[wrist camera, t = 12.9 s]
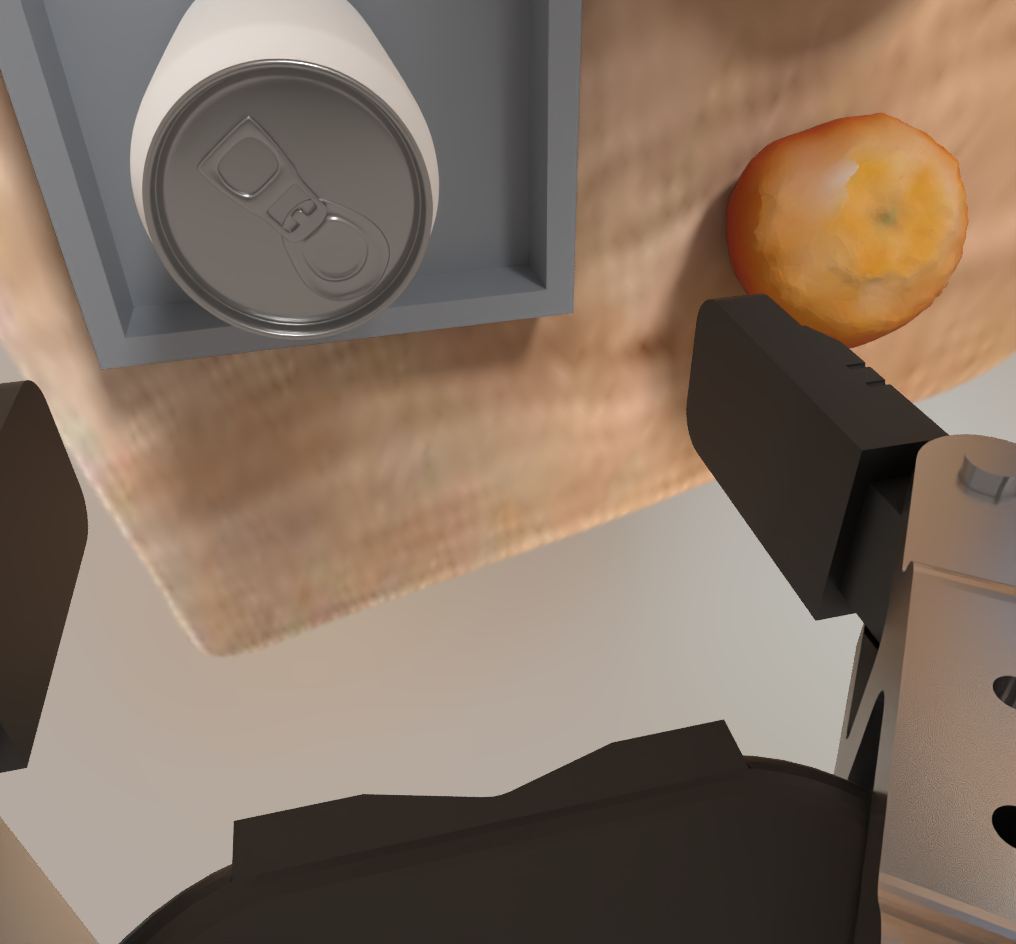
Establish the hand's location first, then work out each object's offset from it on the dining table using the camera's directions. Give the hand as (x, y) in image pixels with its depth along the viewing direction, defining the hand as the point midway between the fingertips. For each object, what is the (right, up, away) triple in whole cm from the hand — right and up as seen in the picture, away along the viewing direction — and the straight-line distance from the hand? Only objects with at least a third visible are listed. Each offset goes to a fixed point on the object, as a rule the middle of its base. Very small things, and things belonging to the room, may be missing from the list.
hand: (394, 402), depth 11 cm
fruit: (+13, +10, +23) cm, 28 cm away
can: (-6, +11, +16) cm, 20 cm away
